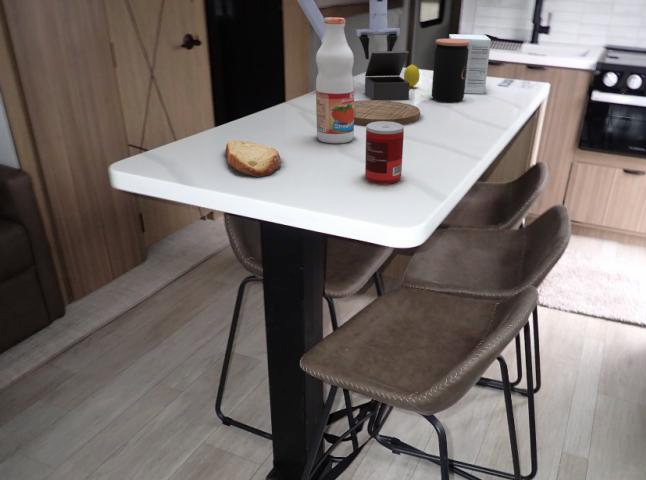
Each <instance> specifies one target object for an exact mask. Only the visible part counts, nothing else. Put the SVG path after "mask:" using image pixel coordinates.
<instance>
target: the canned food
mask: <svg viewBox="0 0 646 480" xmlns="http://www.w3.org/2000/svg"><path fill="white" fill-rule="evenodd" d="M404 128H405V127H404V125H401V124H399V123H396V122H388V121H379V122H372V123H369V124H367V126H365V160H364V161H365V168H364V171H365V172H364V175H365V179H366V180H367V181H368V182H370V183H372V184H377V185H390V184H395V183H397V182H399V181H400V180H401V178H402V170H403V155H404V153H403V151H404V134H405V133H404V131H405V129H404Z"/></svg>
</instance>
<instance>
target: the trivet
mask: <svg viewBox="0 0 646 480" xmlns="http://www.w3.org/2000/svg"><path fill="white" fill-rule="evenodd" d="M420 118H421V110H420V108H419V107H417V106H415V105H412V104H410V103H405V102H402V101H395V100H372V99H365V100H354V125H358V126H365V127H367V124H369V123H372V122H379V121H388V122H396V123H399V124H401V125H403V126H404V125H405V126H407V125H409V124H413V123H414V124H415V122H417V121H419V120H420Z"/></svg>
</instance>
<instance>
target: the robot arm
mask: <svg viewBox="0 0 646 480" xmlns="http://www.w3.org/2000/svg"><path fill="white" fill-rule="evenodd" d="M296 1H297V3H298V5H299V6H300V8H301V10H302V12H303V13H304V15H305V17H306V18H307V20H308V21H309V23H310V25H311V27H312V28H313V30H314V31H315V33H316V35H317V36H318V37H317V38H318V39H319V40H320V41H321V44H322V43H323V40H324V36H325V31H326V27H325V25H324V19H325V17H324V16H323V14H322V13H321V11H320V9H319V8H318V6H317V4H316V3H315V1H314V0H296ZM355 31H356V33H355V34H356V37H359V38H358V39H359V41H360V43H361V46H362V49H363V52H364V57H365V60H370V52H369V51H370V38H369V37H370V36H386V46H387V47H386V49H387V50H386V51H394V46H395V44H396V43H397V42H396V41H397V40H398V36H400V35H401V28H400V27H388V0H369V28H358V29H357V28H356V29H355Z"/></svg>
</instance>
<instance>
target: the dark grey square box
mask: <svg viewBox="0 0 646 480" xmlns="http://www.w3.org/2000/svg"><path fill="white" fill-rule="evenodd" d="M364 94H365V95H366V97H368V98H369V99H370V100H384V101H408V100H410V87H409V82H408V81H406V80H404V77H403V78H402V77H401V75H400V76H365V77H364Z"/></svg>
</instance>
